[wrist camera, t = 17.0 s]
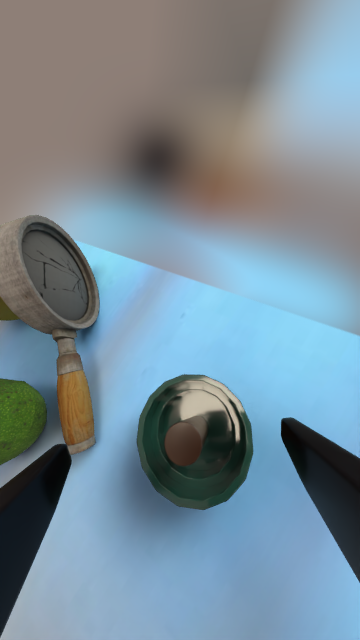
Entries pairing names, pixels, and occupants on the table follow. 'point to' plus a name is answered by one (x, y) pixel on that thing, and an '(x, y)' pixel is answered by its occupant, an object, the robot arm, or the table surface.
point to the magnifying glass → (53, 308)
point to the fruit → (19, 417)
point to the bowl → (218, 450)
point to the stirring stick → (186, 440)
